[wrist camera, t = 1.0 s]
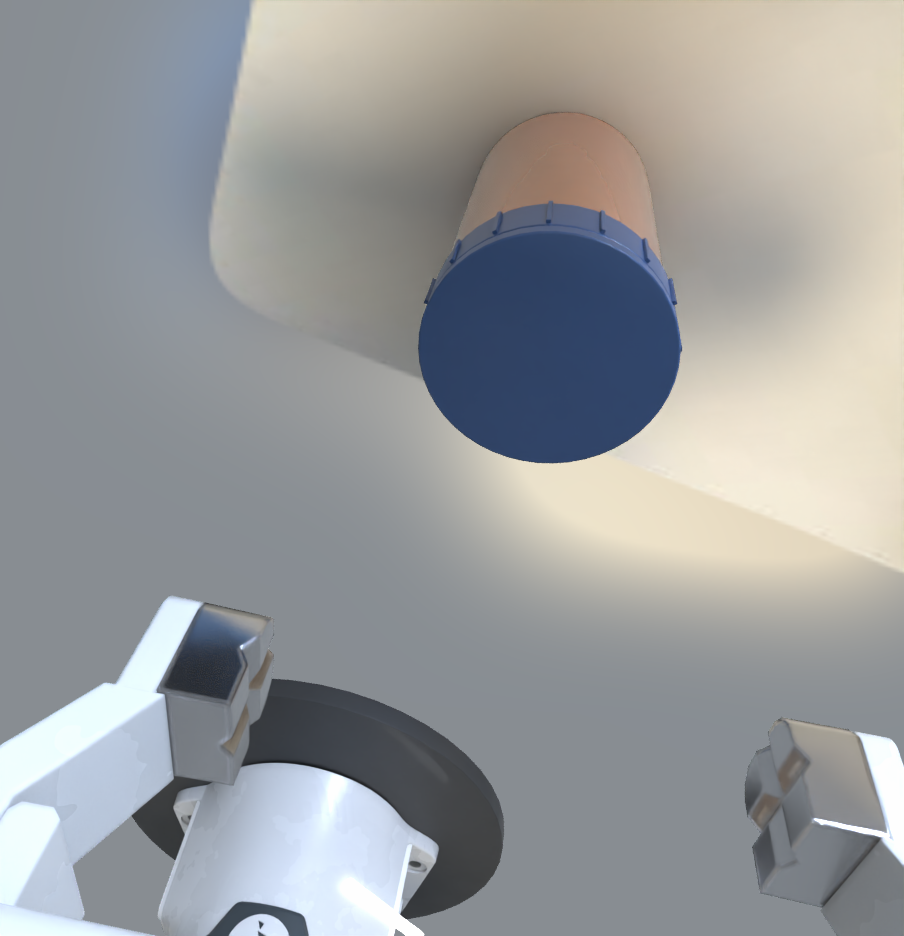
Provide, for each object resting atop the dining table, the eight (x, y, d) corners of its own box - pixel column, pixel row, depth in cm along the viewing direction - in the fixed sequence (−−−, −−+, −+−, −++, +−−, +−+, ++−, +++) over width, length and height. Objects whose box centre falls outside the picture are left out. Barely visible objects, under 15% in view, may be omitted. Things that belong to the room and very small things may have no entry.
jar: (623, 298, 31) (635, 468, 22) (462, 268, 31) (413, 425, 22) (672, 129, 27) (708, 255, 19) (489, 96, 27) (443, 206, 19)
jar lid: (637, 444, 23) (640, 485, 22) (416, 401, 24) (404, 439, 22) (709, 228, 20) (719, 259, 18) (446, 179, 20) (434, 206, 18)
